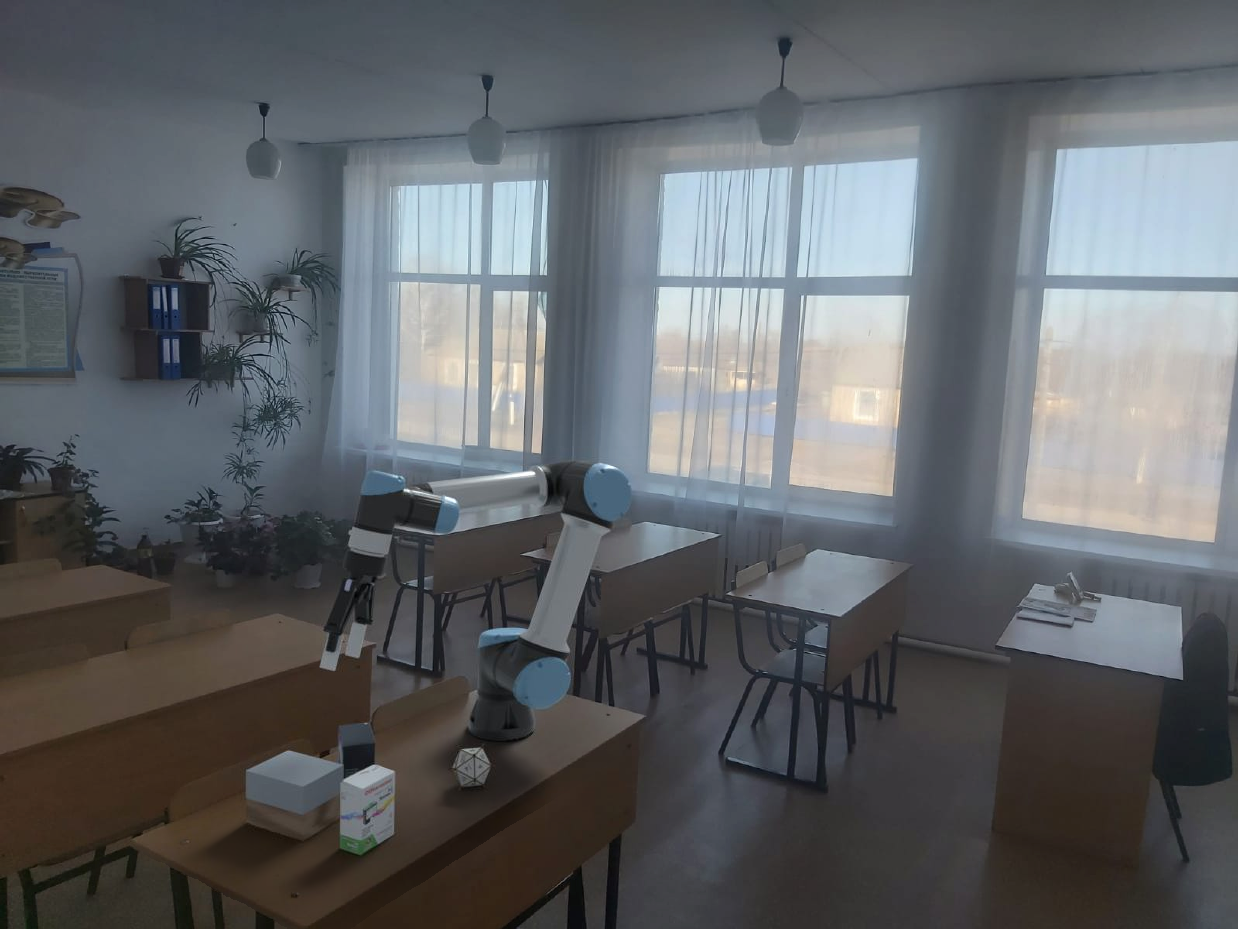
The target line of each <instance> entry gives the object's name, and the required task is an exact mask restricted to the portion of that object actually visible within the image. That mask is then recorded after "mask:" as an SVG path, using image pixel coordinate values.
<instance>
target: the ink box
mask: <svg viewBox="0 0 1238 929" xmlns="http://www.w3.org/2000/svg"><path fill="white" fill-rule="evenodd" d="M395 788H396V771H395V770H392V769H389V768H386V767H383V766H381V765H378V764H375V765H372V766H370V767H368V768H366V769H364V770H362V771H360V772H357V773H356V774H354V775H351V776H350V777H348V778H346V779H344V780H343V782H341V783H340V819H339V848H340V850H344V851H347V852H350V853H352V854H355V855H358V856H362V855H363V854H365V853H366V852H368V851H370V850H371V849H373V848H374V847H377V846H378V845H379V844H382V843H383V842H384V841H385V840H387V839H389V838H391V837H393V835H395V797H396V796H395V794H396V793H395V791H396V789H395Z"/></svg>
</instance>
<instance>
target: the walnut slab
mask: <svg viewBox="0 0 1238 929" xmlns="http://www.w3.org/2000/svg"><path fill="white" fill-rule="evenodd" d="M245 818H246V822H248V823H250V824H252V825H251V826H253V825H256V826H255V827H257V826H258V827H257V828H260V827H261V828H260V829H263V828H265V829H264V830H266V829H268V830H267V831H269V830H270V832H273V833H276V832H277V833H276V834H279V833H280V834H279V835H282V836H285V835H286V836H285V837H288V836H289V837H288V838H292V839H295V840H298V841H301V842H304V841H306V840H307V839H309V838H311V837H312V836H314V835H316V834H317V833H319V832H321V831H322V830H324V829H325V828H327V827H329V826H330V825H332V824H333V823H335V822H336V821H339V820H340V794H338V795H337V796H335V797H333V798H331V799H330V800H328V801H326V802H325V803H323V804H321V805H319V806H318V807H316V808H314V809H313V810H311V811H309V812H307V813H306V814H304V815H301V814H298V813H294V812H291V811H288V810H284V809H281V808H278V807H274V806H271V805H268V804H264V803H261V802H257V801H254V800H251V799H247V798H246V817H245ZM246 822H245V823H246ZM250 824H249V825H250Z"/></svg>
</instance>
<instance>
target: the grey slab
mask: <svg viewBox="0 0 1238 929" xmlns="http://www.w3.org/2000/svg"><path fill="white" fill-rule="evenodd" d="M343 779H344V765H343V764H339V763H338V762H334V761H331V760H326V759H322V758H319V757H315V756H310V755H309V754H304V753H300V752H296V751H292V750H286V751H284V752H282V753H280V754H278V755H274V756H273V757H271V758H269V759H267V760H265V761H262V762H261V763H259V764H256V765H254V766H252V767H251V768H248V769H246V770H245V798H246V800H247V799H251V800H254V801H257V802H261V803H264V804H268V805H271V806H274V807H278V808H281V809H284V810H288V811H291V812H294V813H298V814H301V815H304V814H306V813H307V812H309V811H311V810H313V809H314V808H316V807H318V806H319V805H321V804H323V803H325V802H326V801H328V800H330V799H331V798H333V797H335V796H337V795H338V794H340V783H341V782H343Z"/></svg>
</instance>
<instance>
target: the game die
mask: <svg viewBox="0 0 1238 929" xmlns="http://www.w3.org/2000/svg"><path fill="white" fill-rule="evenodd" d="M484 748H485V743H482V744H481V746H479V747H470V748H469V747H467V748H461V746H459V745H457V749H458V752H457V755H456V757H455V759H454V762H453V764H452V766H449V767H448V768H447V769H448V770H452V772H453V774H454V776H455V778H456V780H457V782H458V784H459V788H458V792H460V791H461V790H462V788H467V787H476V786H482V787H483V788H484V789H486V788H487V785H486V784H485V782H486V781H487V778H488V775H489V773H490V770H491V769H492V768H495V766H496V765H495V764H494V763H493V764H492V763H491V761H490V759H489V758H488V756H487V753H486V751H485V749H484Z"/></svg>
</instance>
